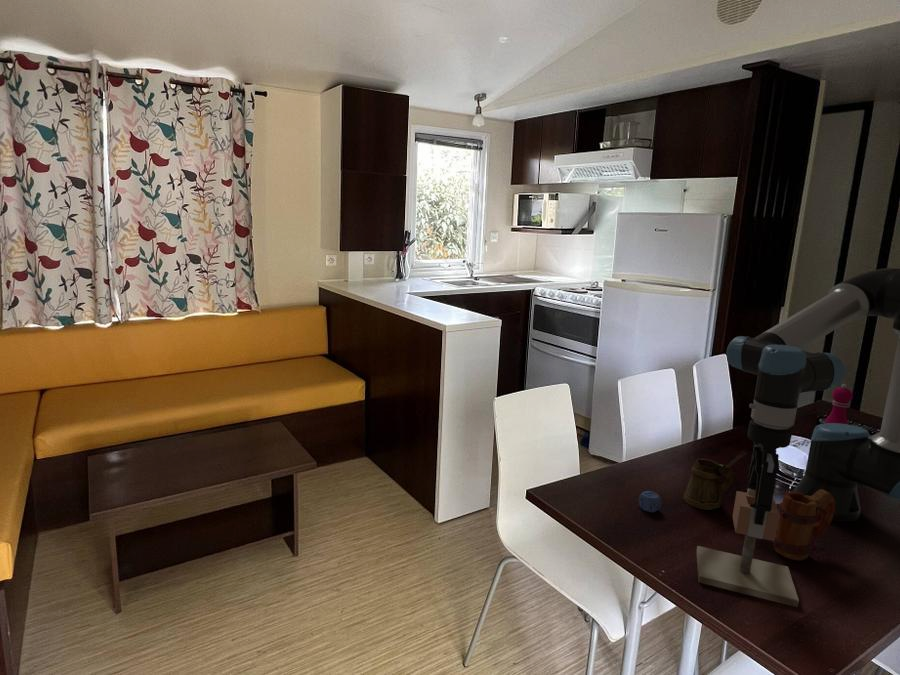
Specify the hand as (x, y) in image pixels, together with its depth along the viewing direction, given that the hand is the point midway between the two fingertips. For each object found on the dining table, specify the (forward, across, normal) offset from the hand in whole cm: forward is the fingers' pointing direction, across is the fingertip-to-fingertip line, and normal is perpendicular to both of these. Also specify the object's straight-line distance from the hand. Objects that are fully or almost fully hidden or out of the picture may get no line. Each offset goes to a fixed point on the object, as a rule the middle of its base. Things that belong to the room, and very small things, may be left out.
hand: (752, 527), depth 117 cm
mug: (+12, -16, +13) cm, 24 cm away
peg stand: (+12, 0, 0) cm, 12 cm away
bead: (0, 0, 0) cm, 0 cm away
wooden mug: (+12, -31, -5) cm, 34 cm away
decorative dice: (+12, -22, -20) cm, 32 cm away
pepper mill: (+12, -107, +40) cm, 115 cm away
